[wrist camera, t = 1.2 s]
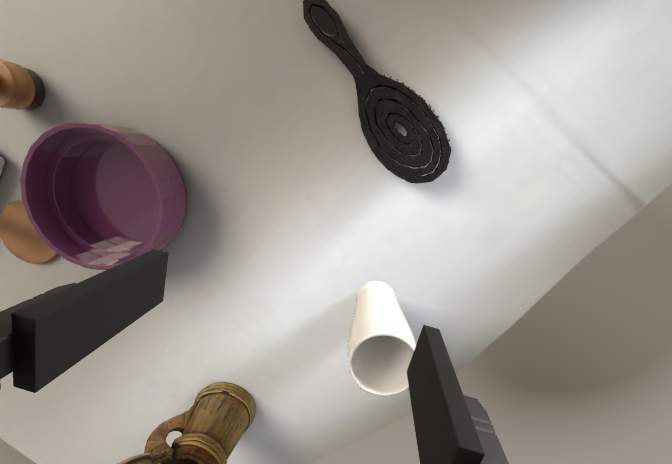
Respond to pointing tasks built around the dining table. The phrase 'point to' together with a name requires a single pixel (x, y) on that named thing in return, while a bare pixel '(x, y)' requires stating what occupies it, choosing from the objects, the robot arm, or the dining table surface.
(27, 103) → the dish brush
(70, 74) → the dining table surface
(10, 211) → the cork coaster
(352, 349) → the white tumbler
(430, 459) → the robot arm
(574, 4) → the dining table surface
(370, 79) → the hairbrush
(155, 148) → the bowl
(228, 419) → the wooden mug
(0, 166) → the dish towel
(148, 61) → the dining table surface
